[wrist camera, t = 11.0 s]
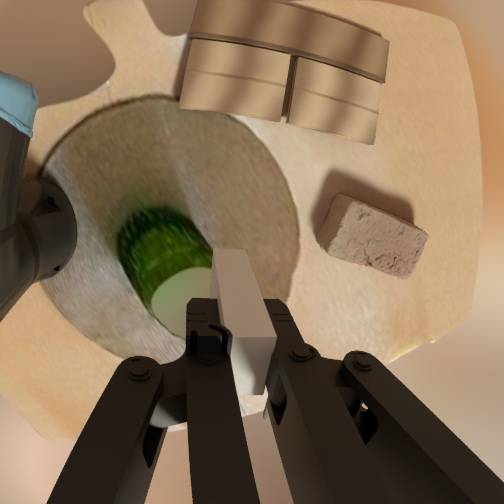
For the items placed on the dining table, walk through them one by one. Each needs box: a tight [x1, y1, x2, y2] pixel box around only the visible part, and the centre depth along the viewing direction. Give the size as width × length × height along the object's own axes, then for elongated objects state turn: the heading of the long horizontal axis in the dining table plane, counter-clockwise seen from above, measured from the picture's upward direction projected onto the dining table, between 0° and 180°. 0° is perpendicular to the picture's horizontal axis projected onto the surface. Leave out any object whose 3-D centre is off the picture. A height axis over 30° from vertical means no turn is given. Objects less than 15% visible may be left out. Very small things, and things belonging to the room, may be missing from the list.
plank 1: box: [179, 39, 291, 122], centre depth 31 cm, size 12×9×1 cm
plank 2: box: [286, 57, 381, 145], centre depth 34 cm, size 12×9×1 cm
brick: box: [317, 194, 429, 280], centre depth 41 cm, size 17×8×5 cm, turn 71°
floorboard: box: [189, 0, 390, 84], centre depth 30 cm, size 26×7×2 cm, turn 80°
